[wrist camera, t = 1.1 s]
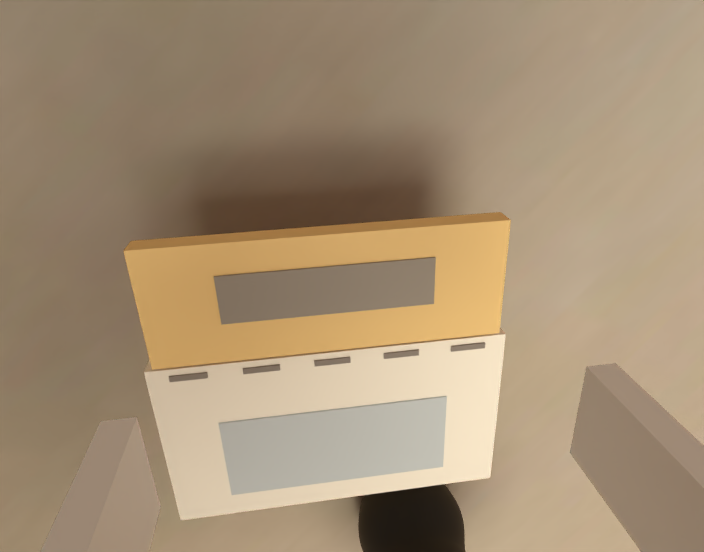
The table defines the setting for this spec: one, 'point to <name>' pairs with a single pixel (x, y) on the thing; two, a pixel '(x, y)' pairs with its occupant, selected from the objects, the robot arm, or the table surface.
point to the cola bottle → (411, 521)
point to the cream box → (327, 423)
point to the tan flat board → (318, 288)
